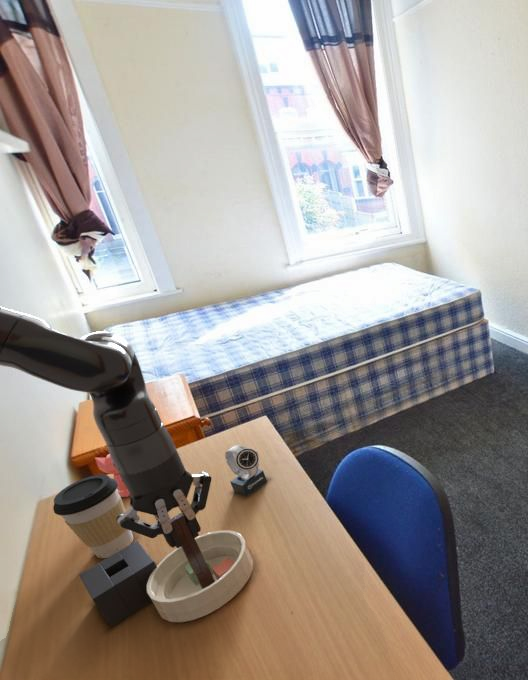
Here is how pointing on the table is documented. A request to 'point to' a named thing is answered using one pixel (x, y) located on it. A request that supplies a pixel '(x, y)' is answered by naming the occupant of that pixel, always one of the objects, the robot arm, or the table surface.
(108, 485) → the coffee cup
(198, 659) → the table surface
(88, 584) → the stand
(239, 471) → the watch
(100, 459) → the cat figurine
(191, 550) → the chopsticks
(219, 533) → the bowl
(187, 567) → the sage block
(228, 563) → the terracotta block
